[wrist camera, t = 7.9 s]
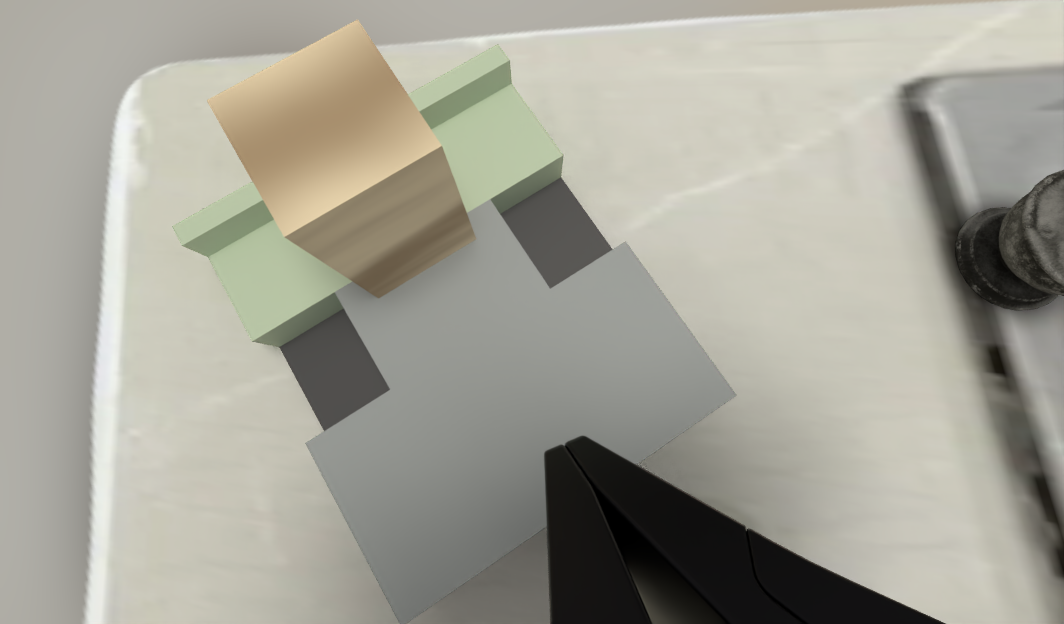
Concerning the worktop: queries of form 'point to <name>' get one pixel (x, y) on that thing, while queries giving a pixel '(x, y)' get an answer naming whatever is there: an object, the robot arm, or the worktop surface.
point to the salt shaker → (1017, 249)
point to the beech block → (347, 162)
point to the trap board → (466, 348)
